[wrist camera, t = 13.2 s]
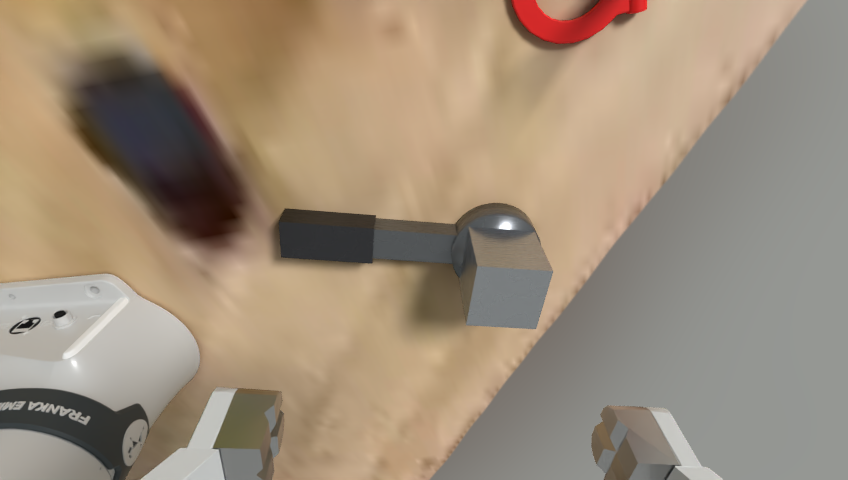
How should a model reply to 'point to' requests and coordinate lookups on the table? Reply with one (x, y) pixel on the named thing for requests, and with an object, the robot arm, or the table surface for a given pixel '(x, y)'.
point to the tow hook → (577, 29)
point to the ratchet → (388, 235)
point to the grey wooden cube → (503, 278)
